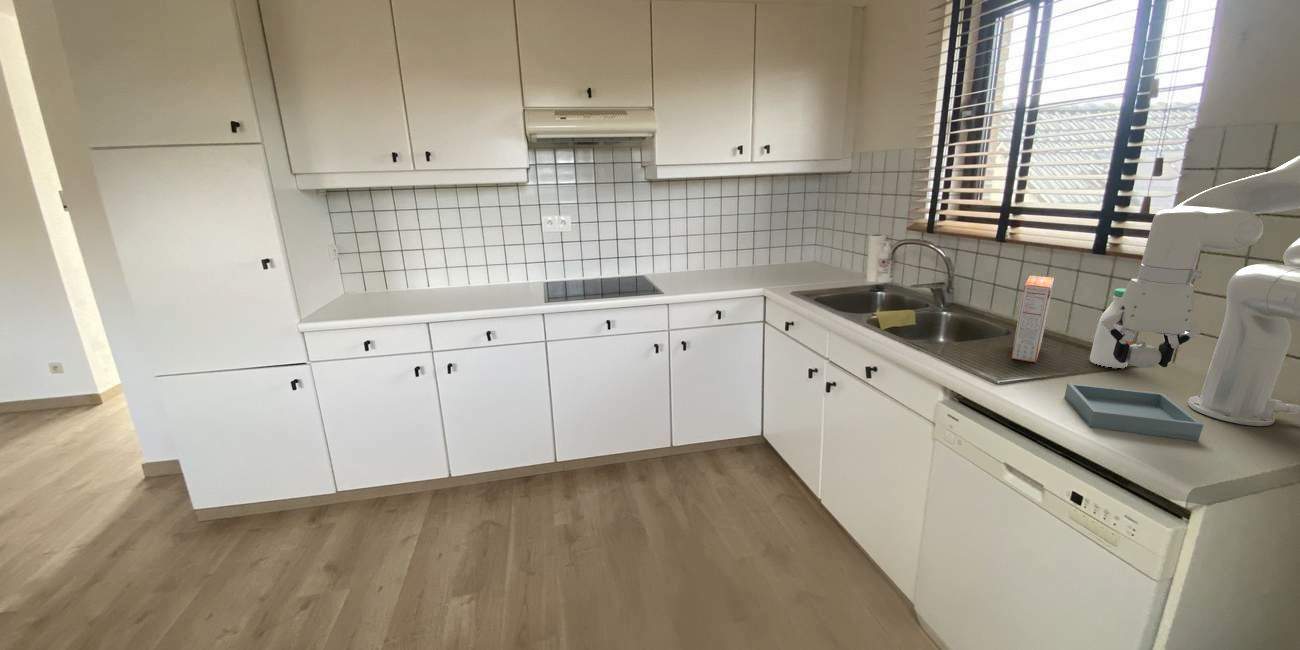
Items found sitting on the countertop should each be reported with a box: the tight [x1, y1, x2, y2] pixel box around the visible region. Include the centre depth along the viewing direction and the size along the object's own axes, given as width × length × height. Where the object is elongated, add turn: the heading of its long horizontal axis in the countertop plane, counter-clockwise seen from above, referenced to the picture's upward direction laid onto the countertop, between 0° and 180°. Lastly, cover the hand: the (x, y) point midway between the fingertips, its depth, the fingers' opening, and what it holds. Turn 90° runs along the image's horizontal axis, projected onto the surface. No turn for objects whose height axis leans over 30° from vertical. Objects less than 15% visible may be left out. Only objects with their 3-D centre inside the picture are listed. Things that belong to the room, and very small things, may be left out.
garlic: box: [1126, 340, 1161, 368], centre depth 107 cm, size 6×5×5 cm
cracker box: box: [1011, 275, 1055, 363], centre depth 144 cm, size 14×6×21 cm, turn 141°
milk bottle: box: [1089, 287, 1137, 369], centre depth 136 cm, size 8×8×20 cm
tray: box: [1064, 382, 1204, 442], centre depth 110 cm, size 17×15×4 cm
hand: (1140, 362), depth 107 cm, fingers closed on garlic, 6 cm apart
